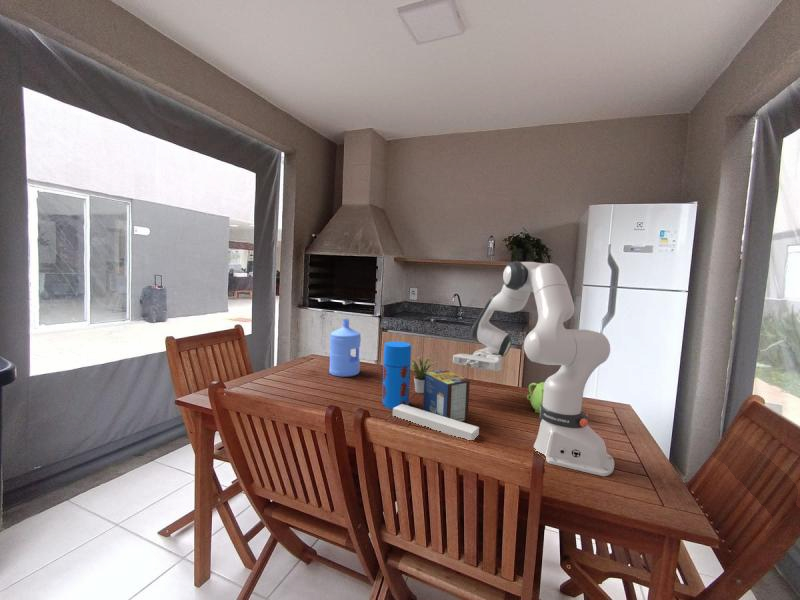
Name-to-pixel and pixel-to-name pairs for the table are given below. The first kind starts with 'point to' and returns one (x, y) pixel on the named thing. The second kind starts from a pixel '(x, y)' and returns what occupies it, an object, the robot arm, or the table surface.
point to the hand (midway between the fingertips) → (468, 364)
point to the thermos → (396, 374)
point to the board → (436, 422)
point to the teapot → (536, 396)
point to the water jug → (344, 351)
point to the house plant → (420, 374)
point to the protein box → (446, 395)
